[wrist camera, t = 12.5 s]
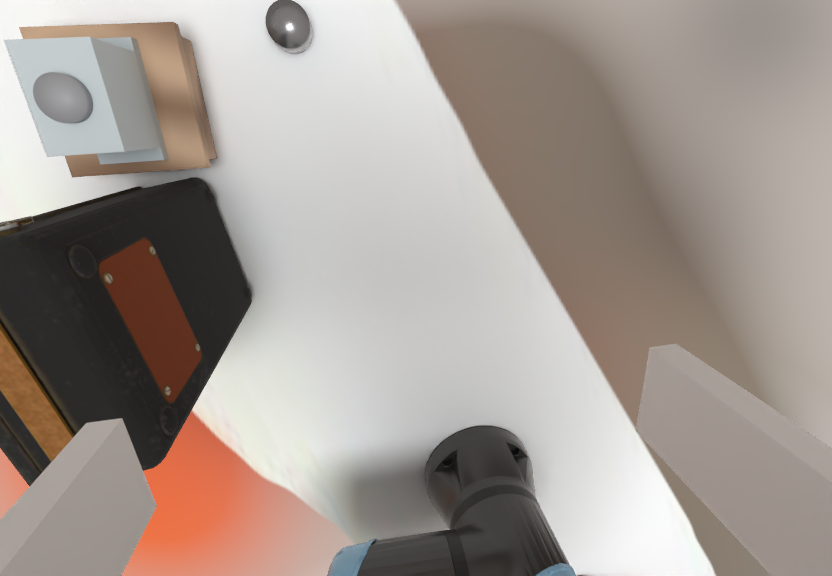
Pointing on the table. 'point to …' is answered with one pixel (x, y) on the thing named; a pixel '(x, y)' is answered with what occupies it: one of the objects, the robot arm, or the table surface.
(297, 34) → the dark grey metallic dome
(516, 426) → the table surface
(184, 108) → the stand
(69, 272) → the black carrying case
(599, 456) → the table surface
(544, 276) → the table surface
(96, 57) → the housing
